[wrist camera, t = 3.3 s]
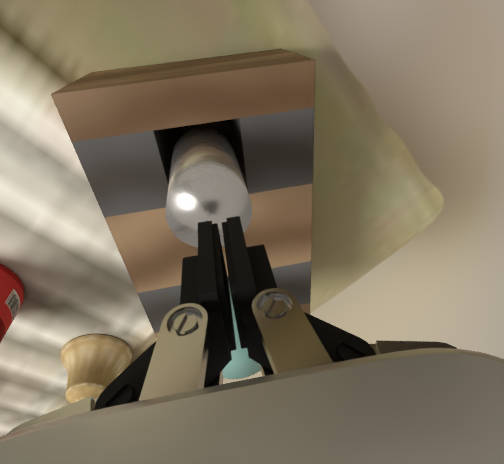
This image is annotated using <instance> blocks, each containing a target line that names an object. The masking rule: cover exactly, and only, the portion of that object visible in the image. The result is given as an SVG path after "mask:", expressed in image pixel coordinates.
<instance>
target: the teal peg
mask: <svg viewBox="0 0 504 464" xmlns="http://www.w3.org/2000/svg"><path fill="white" fill-rule="evenodd" d="M227 277H228V276H227ZM228 284H229V277H228ZM229 292H230V300H231V308H232V316H233V324H234V333H235V341H236V350H233V351H231V356H232V360H231V361H230V362H229V363H228V364H227V365H226V367H225V368H224V369H223V370H222V371H223V378H227V379H240V378H245V377H248V376H251V375H253V374H255V373H257V372H259V371H260V370H261V368H260V364H259V363H257V362H255V361H254V360H252V359H250V358H249V356H248V350H247V348H244V349H241V345H240V339H239V334H238V329H237V324H236V318H235V313H234V308H233V302H232V297H231V291H230V285H229Z"/></svg>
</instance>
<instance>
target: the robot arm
mask: <svg viewBox="0 0 504 464" xmlns="http://www.w3.org/2000/svg"><path fill="white" fill-rule="evenodd" d="M226 220H227V222H222V230H223V238H224V246H225V254H226V262H227V270H228V277H229V284H228V277H227V271H226V266H225V261H224V255H223V250H222V245H221V240H220V234H219V229H218V224H217V223H215V224H212V221H205V222H198V255H196V256H190V257H184V258H183V261H182V277H181V294H180V305H179V306H177V307H175V308H173V309H172V310H170V311H169V312H168V313H167V314H166V316H165V317H164V319H163V321H162V324H161V327H160V331H159V334H158V337H157V341H156V342H155V343H154V344H153V345H151V346H150V347H149V348H148V349H147V350H146V351H145V352H144V353H143V354H142V355H141V356H140V357H138V358H137V359H136V360H135V361H134V362H133V363H132V364H131V365H130V366H129V367H128V368H126V369H125V370H124V371H123V372H122V373H121V374H120V375H119V376H118V377H117V378H116V379H115V380H113V381H112V382H111V383H110V384H109V385H108V386H107V387H106V388H105V389H104V390H103V392H102V393H101V394H100V396H99V397H96V398H94V399H93V398H92V397H91V396H89V397H87V398H84V399H82V400H79V401H77V402H74V403H72V404H69V405H67V406H65V407H62V408H60V409H57V410H55V411H52V412H50V413H47V414H45V415H42V416H40V417H37V418H35V419H32V420H30V421H28V422H25V423H23V424H21V425H19V426H17V427H15V428H14V429H12V430H11V431H10V432H9V433H8V434H6V435H5V436H2V437H0V464H504V359H502V358H499V357H496V356H492V355H489V354H485V353H481V352H475V351H469V350H462V349H457V348H456V347H454V346H451V345H449V344H447V343H441V342H419V341H376V344H368V343H367V342H366V341H364V340H362V339H361V338H359V337H357V336H355V335H353V334H350V333H348V332H346V331H344V330H342V329H340V328H338V327H335V326H333V325H331V324H329V323H326V322H325V321H322V320H320V319H318V318H316V317H314V316H312V315H309V314H307V313H305V312H303V310H302V309H301V307H300V305H299V303H298V302H297V300H296V298H295V297H294V296H293V295H292V294H291V293H290V292H288V291H287V290H283V289H280V288H277V285H276V282H275V278H274V275H273V272H272V269H271V265H270V262H269V259H268V256H267V252H266V249H265V246H264V244H262V245H256V246H250V247H246V242H245V238H244V233H243V229H242V225H241V220H240V216H236V217H230V218H226ZM229 285H230V291H231V297H232V302H233V308H234V313H235V318H236V324H237V329H238V334H239V339H240V345H241V349H244V348H247V350H248V356H249V358H250V359H252V360H254V361H255V362H257V363H259V364H260V368H261V372H262V374H263V377H258V378H252V379H247V380H242V381H237V382H232V383H227V384H223V371H222V370H223V369H224V368H225V367H226V365H227V364H228V363H229V362H230V361H231V360H232V356H231V351H233V350H236V341H235V333H234V324H233V316H232V308H231V300H230V292H229Z"/></svg>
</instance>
